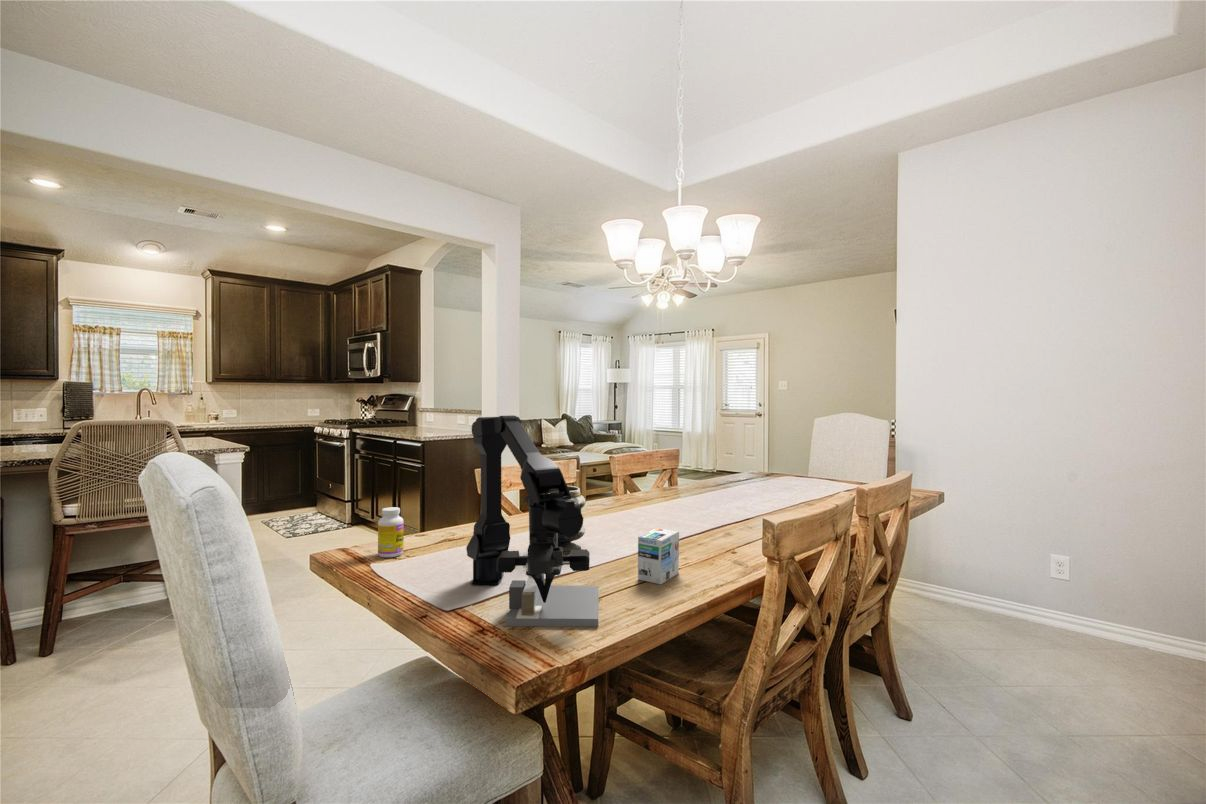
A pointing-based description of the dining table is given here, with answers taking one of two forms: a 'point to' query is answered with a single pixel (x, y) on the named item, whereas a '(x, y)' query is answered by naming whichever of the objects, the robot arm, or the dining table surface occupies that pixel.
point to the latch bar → (530, 597)
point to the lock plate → (556, 606)
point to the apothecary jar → (579, 503)
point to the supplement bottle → (390, 533)
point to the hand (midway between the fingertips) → (544, 601)
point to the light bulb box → (658, 555)
